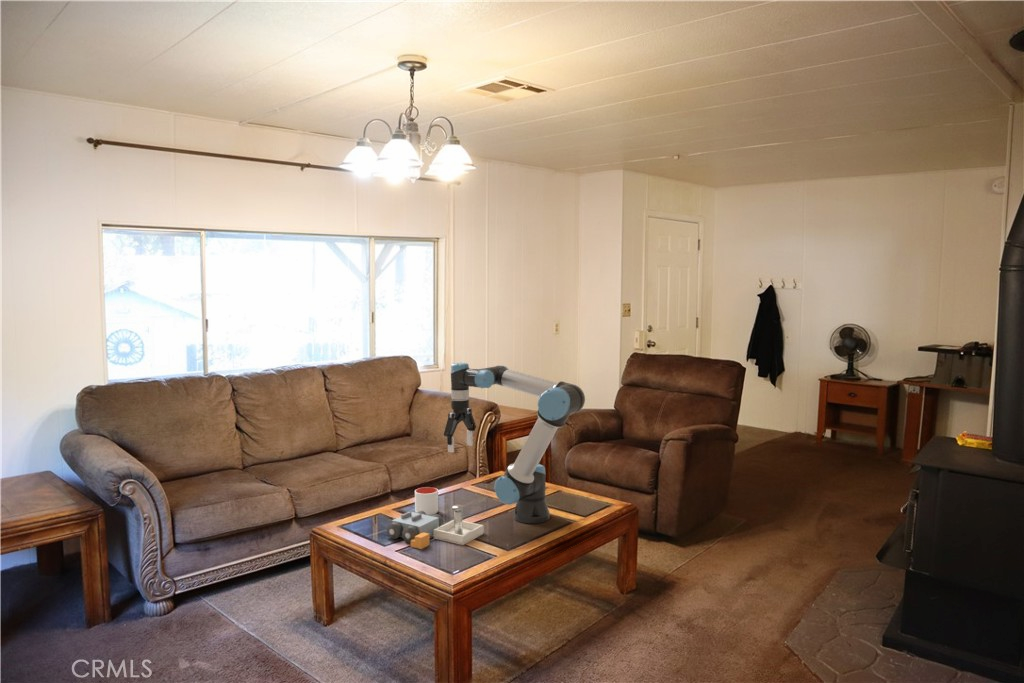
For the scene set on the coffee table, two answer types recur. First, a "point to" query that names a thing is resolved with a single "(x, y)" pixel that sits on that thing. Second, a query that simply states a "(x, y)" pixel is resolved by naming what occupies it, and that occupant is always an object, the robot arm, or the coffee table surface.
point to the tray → (448, 534)
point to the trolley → (413, 525)
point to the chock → (420, 541)
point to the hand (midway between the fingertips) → (460, 448)
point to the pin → (458, 519)
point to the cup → (426, 500)
